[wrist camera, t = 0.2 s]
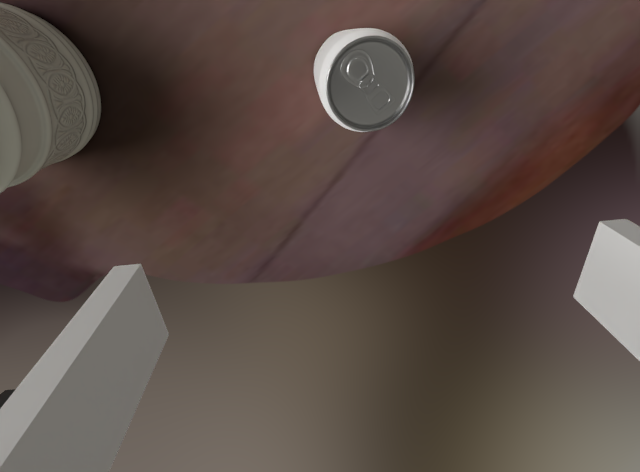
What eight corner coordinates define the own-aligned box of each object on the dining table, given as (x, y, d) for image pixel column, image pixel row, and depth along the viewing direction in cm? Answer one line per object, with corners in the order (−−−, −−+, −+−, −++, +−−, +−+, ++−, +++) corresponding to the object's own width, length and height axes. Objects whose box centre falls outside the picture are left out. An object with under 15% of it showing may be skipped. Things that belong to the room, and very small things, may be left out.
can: (354, 11, 31) (382, 0, 20) (396, 74, 33) (440, 92, 23) (298, 65, 33) (297, 80, 22) (342, 120, 35) (360, 157, 25)
